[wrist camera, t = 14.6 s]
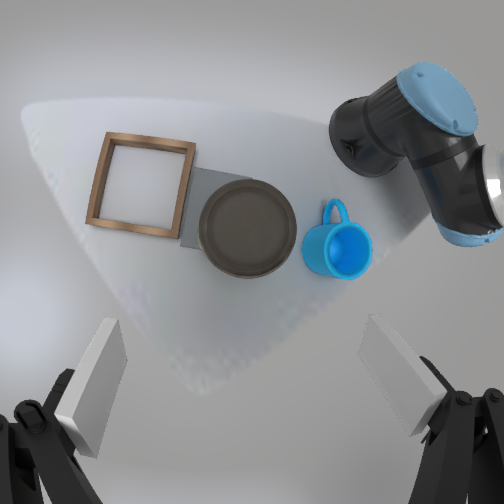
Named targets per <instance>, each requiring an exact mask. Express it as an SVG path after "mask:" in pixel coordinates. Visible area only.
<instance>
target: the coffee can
mask: <svg viewBox="0 0 504 504" xmlns="http://www.w3.org/2000/svg"><path fill="white" fill-rule="evenodd" d="M296 232H297V225H296V219H295V214H294V212H293V209H292V207H291V205H290V203H289V201H288V200H287V199H286V197H285V196H284V195H283V194H282V193H281V192H280V191H279V190H277V189H276V188H275V187H273V186H272V185H270V184H268V183H266V182H263V181H259V180H254V179H240V180H235V181H232V182H229V183H227V184H225V185H223V186H222V187H220V188H219V189H217V190H216V191H215V192H214V193H213V194H212V195H211V196H210V197H209V198H208V200H207V201H206V203H205V205H204V207H203V209H202V211H201V215H200V219H199V222H198V225H197V240H198V243H199V246H200V248H201V250H202V251H203V253H204V254H205V255H206V256H207V257H208V259H209V260H210V261H211V262H212V263H213V264H214V265H215V266H216V267H217V268H218V269H219V270H221V271H223V272H224V273H226V274H228V275H231V276H234V277H237V278H245V279H252V278H258V277H262V276H265V275H267V274H270V273H271V272H273V271H275V270H276V269H278V268H279V267H280V266H281V265H282V264H283V263H284V262H285V261H286V260H287V258H288V257H289V255H290V253H291V251H292V249H293V247H294V244H295V240H296Z"/></svg>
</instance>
